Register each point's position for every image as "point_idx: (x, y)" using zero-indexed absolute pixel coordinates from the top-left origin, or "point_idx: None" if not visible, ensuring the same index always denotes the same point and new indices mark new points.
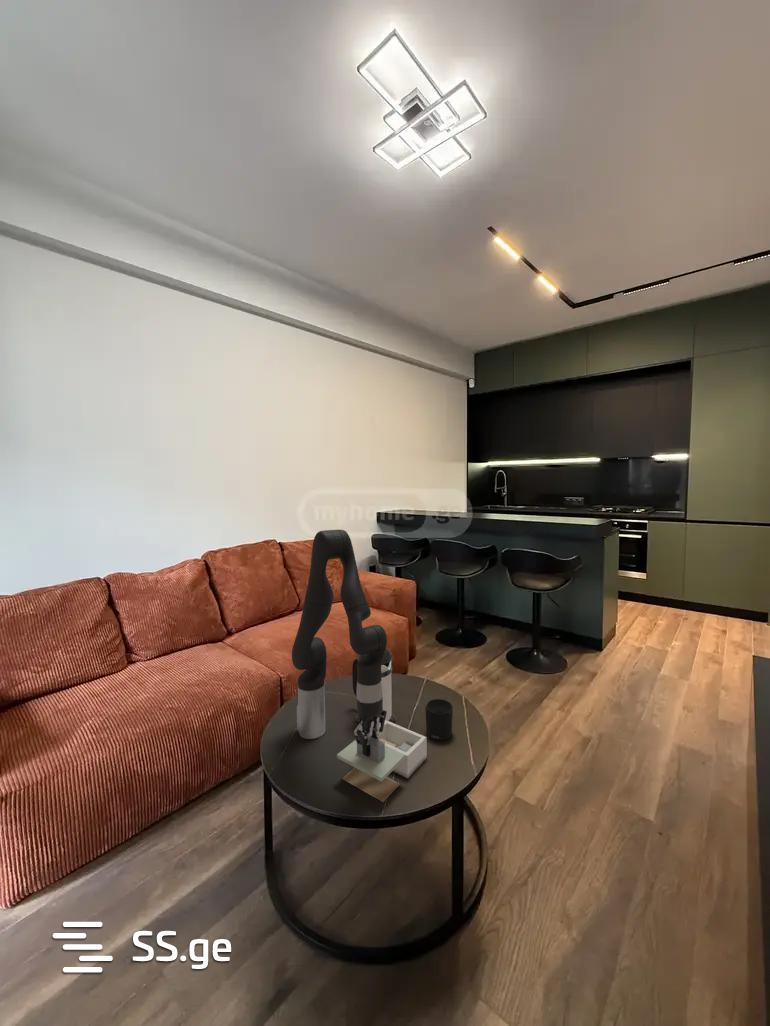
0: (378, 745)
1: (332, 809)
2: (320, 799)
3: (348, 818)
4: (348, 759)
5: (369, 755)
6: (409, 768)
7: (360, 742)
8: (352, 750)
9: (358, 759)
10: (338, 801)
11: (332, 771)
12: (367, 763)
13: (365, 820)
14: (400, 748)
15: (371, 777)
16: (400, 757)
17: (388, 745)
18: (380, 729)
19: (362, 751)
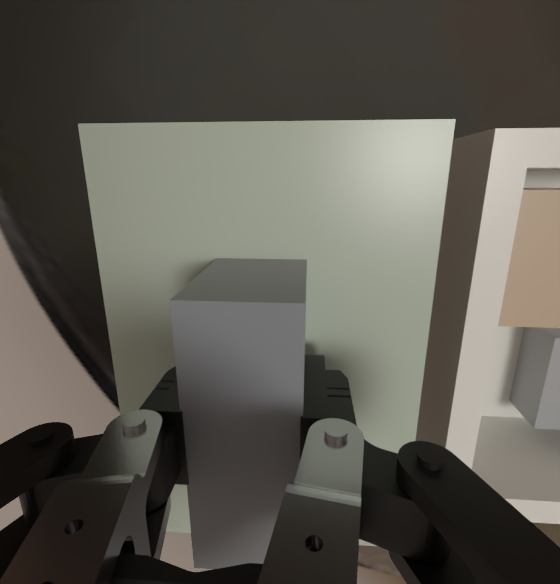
0: (225, 551)
1: (44, 254)
2: (36, 161)
3: (65, 339)
4: (108, 256)
5: None
6: None
7: (20, 498)
8: (210, 208)
9: (161, 322)
10: (91, 245)
11: (211, 53)
12: None
13: (106, 396)
14: (555, 352)
15: None
16: None
17: (475, 367)
18: (397, 566)
19: (162, 377)
